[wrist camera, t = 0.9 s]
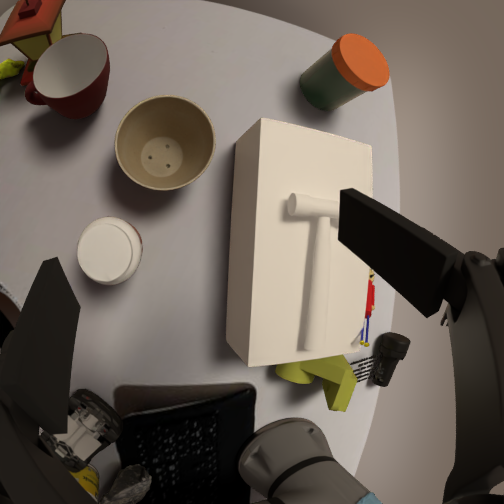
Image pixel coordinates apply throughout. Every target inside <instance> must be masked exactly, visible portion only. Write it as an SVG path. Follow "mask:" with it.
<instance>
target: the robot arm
mask: <svg viewBox="0 0 504 504" xmlns="http://www.w3.org/2000/svg"><path fill="white" fill-rule="evenodd" d="M338 241H339V242H341V243H342V244H343V245H344V246H345V247H347V248H348V249H349V250H350V251H351V252H353V253H354V254H355V255H356V256H357V257H358V258H360V259H361V260H362V261H363V262H364V263H366V264H367V265H368V266H369V267H370V268H371V269H373V270H374V271H375V272H376V273H377V274H378V275H379V276H381V277H382V278H383V279H384V280H385V281H386V282H387V283H389V284H390V285H391V286H392V287H393V288H394V289H395V290H396V291H398V292H399V293H400V294H401V295H402V296H403V297H404V298H405V299H406V300H408V301H409V302H410V303H411V304H412V305H413V306H414V307H415V308H416V309H417V310H418V311H419V312H420V313H422V314H423V315H424V316H425V317H426V318H428V317H430V316H431V315H433V314H435V313H436V312H438V311H439V309H440V307H441V304H442V301H443V299H445V300H446V301H447V302H448V305H447V308H446V310H445V313H444V315H443V318H442V320H441V325H442V326H443V324H444V322H445V320H446V319H448V323H447V325H446V326H449V333H450V340H451V347H452V356H453V366H454V377H455V395H456V450H455V463H454V467H453V469H452V471H451V473H450V475H449V477H448V479H447V481H446V485H445V490H444V496H443V503H442V504H504V495H496V494H489V492H490V490H491V489H492V488H493V487H494V486H496V485H497V484H499V483H501V482H503V481H504V248H500V249H499V251H498V255H497V258H496V259H492V260H490V259H489V258H488V257H487V256H485V255H484V254H482V253H479V252H475V251H469V252H466V253H465V255H464V254H463V253H461V252H460V251H459V250H457V249H456V248H454V247H453V246H451V245H450V244H448V243H447V242H445V241H443V240H442V239H440V238H439V237H437V236H436V235H433V233H431V232H429V231H428V230H426V229H425V228H422V227H420V226H418V225H417V224H415V223H414V222H412V221H410V220H409V219H407V218H405V217H404V216H402V215H400V214H399V213H397V212H395V211H393V210H392V209H390V208H388V207H387V206H385V205H383V204H381V203H380V202H378V201H376V200H374V199H372V198H371V197H369V196H367V195H365V194H363V193H361V192H360V191H358V190H356V189H354V188H349V189H343V190H340V204H339V226H338ZM80 308H81V307H80V305H79V303H78V301H77V299H76V297H75V295H74V293H73V291H72V289H71V286H70V284H69V282H68V280H67V278H66V276H65V273H64V271H63V269H62V267H61V264H60V262H59V260H58V257H55V258H52V259H49V260H45V261H43V263H42V265H41V267H40V269H39V271H38V273H37V275H36V277H35V280H34V282H33V284H32V286H31V289H30V291H29V293H28V296H27V298H26V301H25V303H24V306H23V308H22V311H21V313H20V316H19V318H18V322H17V324H16V327H15V329H14V330H13V331H11V332H10V333H9V335H8V336H7V338H6V339H5V341H4V343H3V346H2V349H1V354H0V504H99V503H98V502H97V501H96V500H95V499H94V498H93V497H92V496H91V495H90V494H89V493H88V492H87V491H86V490H85V489H84V488H83V487H82V486H81V484H80V483H79V482H78V481H77V480H76V479H75V478H74V477H73V476H72V474H71V473H70V472H69V471H68V470H67V468H66V467H65V466H64V465H63V464H62V462H61V461H60V460H59V459H58V457H57V456H56V455H55V454H54V452H53V451H52V450H51V448H50V447H49V446H48V444H47V443H46V442H45V440H44V439H43V438H41V437H40V436H39V426H40V427H41V428H42V429H43V430H45V431H46V432H47V433H48V434H49V435H55V434H68V404H69V389H70V378H71V368H72V359H73V351H74V344H75V337H76V331H77V325H78V319H79V313H80ZM237 469H238V471H239V473H240V475H241V477H242V478H243V480H244V481H245V482H246V483H247V484H248V485H249V486H251V487H252V488H253V489H255V490H256V491H257V492H259V493H260V494H261V495H263V496H264V497H265V498H267V499H266V500H262V501H258V502H254V503H251V504H382V503H381V502H380V501H379V500H378V499H377V498H376V496H375V494H374V493H372V492H370V491H369V490H368V489H367V488H365V487H364V486H363V485H362V484H361V483H360V482H359V481H358V480H356V479H355V478H354V477H353V476H352V475H351V474H350V473H349V472H348V471H347V470H346V469H345V468H343V467H342V466H341V465H340V464H339V463H338V462H337V461H336V460H335V459H334V458H333V455H332V453H331V450H330V448H329V445H328V442H327V440H326V437H325V435H324V434H323V432H322V431H321V429H320V428H319V427H318V426H317V425H316V424H315V423H313V422H312V421H310V420H307V419H303V418H288V419H283V420H279V421H276V422H273V423H271V424H269V425H267V426H265V427H263V428H262V429H260V430H259V431H257V432H256V433H254V434H253V435H252V436H251V437H250V438H249V439H248V440H247V441H246V442H245V443H244V445H243V446H242V448H241V449H240V451H239V454H238V456H237Z"/></svg>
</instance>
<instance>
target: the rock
mask: <svg viewBox="0 0 504 504" xmlns="http://www.w3.org/2000/svg"><path fill="white" fill-rule="evenodd" d="M150 484H151V475H149V474H148V473H147V471H146V470H145V467H143V466H141V465H139V464H136V465H133V466H131V465H129V466H128V467H127V468H125V469H123V470H120V471H119V472H118V476H117V478H116V480H115V482H114V483H113V486H112V487H111V490H110V491H109V493H108V494H105V495H103V498H102V499H101V501H100V502H99V504H136V503H137V502H139V501H140V500H142V498H143V497H144V496H145V494H146V492H147V491H148V490H149V489H150V488H149V487H150Z"/></svg>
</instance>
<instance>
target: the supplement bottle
mask: <svg viewBox="0 0 504 504" xmlns="http://www.w3.org/2000/svg"><path fill="white" fill-rule="evenodd" d="M69 472H70V471H69ZM70 473H71V474H72V476H73V477H74V478H75V479H76V480H77V481H78V482H79V483H80V484H81V486H82V487H83V488H84V489H85V490H86V491H87V492H88V493H89V494H90V495H91V496H92V497H93V498H94V499H95V500H96V501H97V502H98V490H99V474H98V472H97V470H96V469H95V468H94V467H93V466H92V465H90V464H88V465H87V466H86V467H85V468H84V469H83V470H81V471H80V472H77V473H72V472H70Z"/></svg>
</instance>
